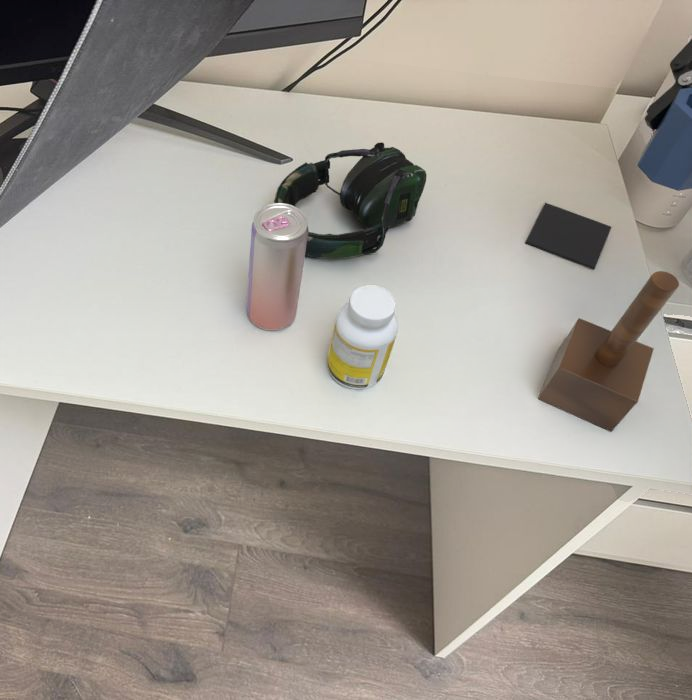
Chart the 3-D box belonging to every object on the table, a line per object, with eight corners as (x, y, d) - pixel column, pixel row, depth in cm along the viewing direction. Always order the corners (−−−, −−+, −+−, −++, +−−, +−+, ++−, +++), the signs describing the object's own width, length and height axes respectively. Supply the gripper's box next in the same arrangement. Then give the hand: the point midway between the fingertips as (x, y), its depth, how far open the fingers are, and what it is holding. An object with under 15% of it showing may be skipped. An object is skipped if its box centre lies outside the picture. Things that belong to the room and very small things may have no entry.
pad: (610, 228, 95) (611, 226, 95) (593, 269, 91) (595, 267, 90) (544, 204, 98) (545, 202, 98) (524, 243, 93) (526, 241, 93)
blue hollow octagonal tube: (707, 163, 69) (751, 100, 63) (697, 197, 66) (742, 134, 60) (645, 143, 70) (683, 79, 65) (633, 175, 67) (671, 112, 62)
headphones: (362, 127, 98) (245, 195, 94) (417, 106, 86) (285, 184, 82) (402, 213, 102) (290, 283, 97) (460, 204, 89) (335, 284, 85)
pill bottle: (375, 343, 83) (396, 275, 74) (389, 389, 79) (413, 323, 70) (320, 348, 82) (335, 280, 73) (332, 394, 78) (349, 328, 69)
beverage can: (238, 304, 86) (242, 210, 74) (281, 289, 88) (292, 195, 76) (260, 339, 83) (268, 247, 71) (304, 323, 84) (320, 231, 73)
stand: (627, 380, 80) (718, 270, 66) (611, 432, 76) (704, 326, 62) (557, 350, 83) (630, 238, 68) (537, 399, 79) (611, 290, 64)
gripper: (784, -74, 59) (611, 84, 66) (948, 8, 52) (733, 178, 58) (788, -22, 65) (628, 119, 72) (936, 60, 57) (741, 209, 64)
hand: (675, 145), depth 65 cm, fingers closed on blue hollow octagonal tube, 6 cm apart
